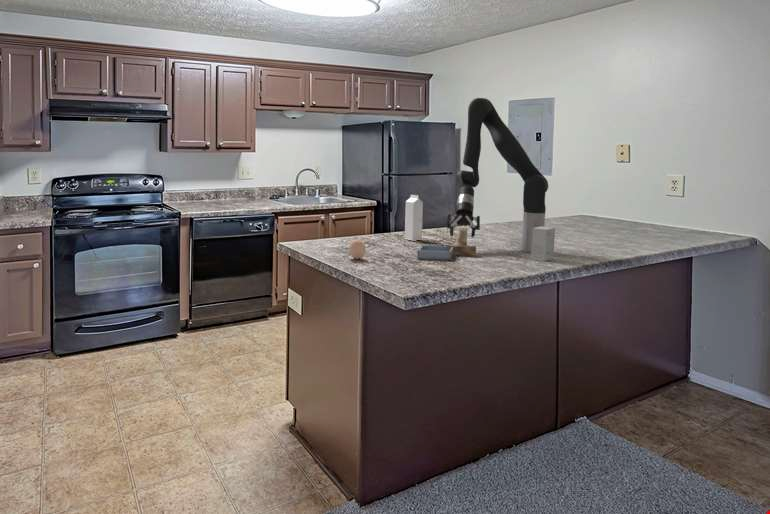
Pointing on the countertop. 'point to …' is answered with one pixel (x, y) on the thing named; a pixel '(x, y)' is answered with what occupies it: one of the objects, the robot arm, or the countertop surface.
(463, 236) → the dowel
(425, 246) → the tray
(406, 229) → the milk
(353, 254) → the egg
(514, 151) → the robot arm
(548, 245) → the small box
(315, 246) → the countertop surface
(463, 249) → the block
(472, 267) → the countertop surface
